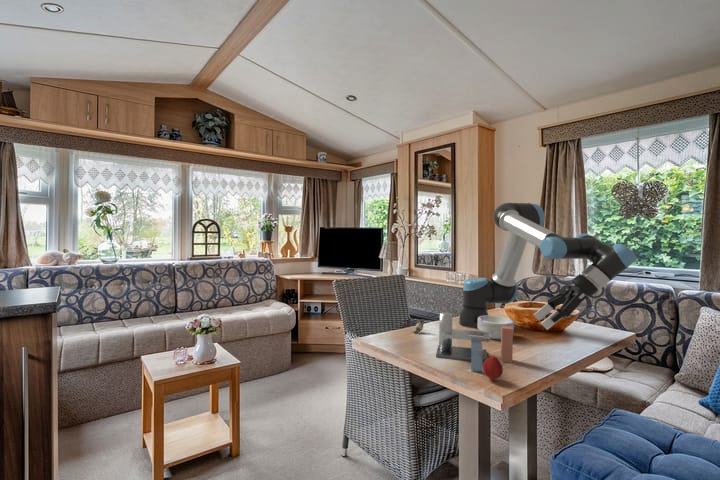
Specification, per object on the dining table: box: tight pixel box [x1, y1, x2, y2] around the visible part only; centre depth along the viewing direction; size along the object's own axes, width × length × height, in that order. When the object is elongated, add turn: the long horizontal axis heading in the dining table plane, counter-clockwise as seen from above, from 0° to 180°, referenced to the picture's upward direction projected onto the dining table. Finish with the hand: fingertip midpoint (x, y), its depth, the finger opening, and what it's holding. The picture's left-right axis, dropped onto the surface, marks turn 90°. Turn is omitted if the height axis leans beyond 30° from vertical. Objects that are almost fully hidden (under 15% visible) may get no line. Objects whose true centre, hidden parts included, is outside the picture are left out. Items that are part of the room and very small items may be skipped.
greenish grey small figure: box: [410, 319, 425, 335], centre depth 162 cm, size 5×5×6 cm
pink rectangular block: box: [500, 326, 514, 364], centre depth 127 cm, size 4×4×12 cm
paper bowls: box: [477, 314, 515, 340], centre depth 158 cm, size 15×15×8 cm
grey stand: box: [435, 311, 491, 373], centre depth 128 cm, size 18×22×15 cm
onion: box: [482, 354, 504, 381], centre depth 110 cm, size 6×6×8 cm
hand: (539, 322), depth 124 cm, fingers open, 13 cm apart
